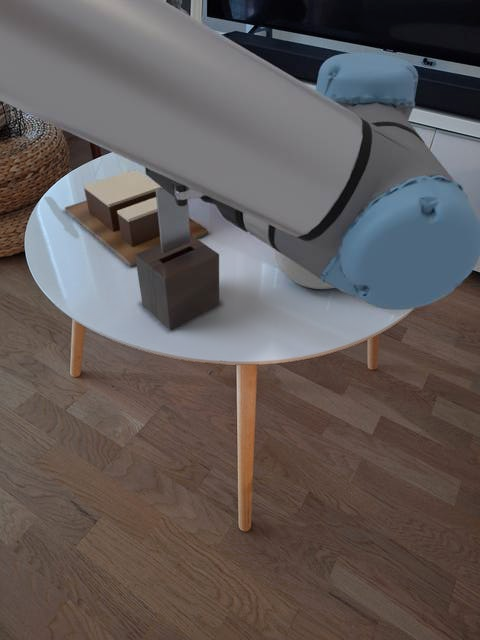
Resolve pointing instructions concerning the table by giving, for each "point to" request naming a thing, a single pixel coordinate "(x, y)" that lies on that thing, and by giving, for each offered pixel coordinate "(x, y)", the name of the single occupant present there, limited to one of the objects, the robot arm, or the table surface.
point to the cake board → (114, 238)
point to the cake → (118, 195)
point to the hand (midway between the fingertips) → (145, 136)
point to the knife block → (178, 281)
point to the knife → (172, 221)
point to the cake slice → (139, 222)
